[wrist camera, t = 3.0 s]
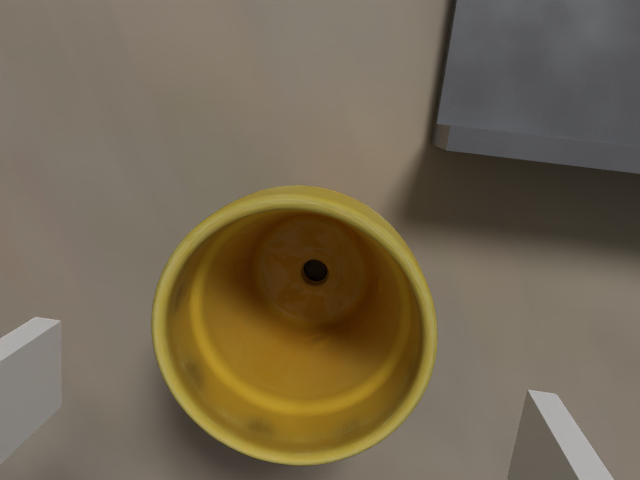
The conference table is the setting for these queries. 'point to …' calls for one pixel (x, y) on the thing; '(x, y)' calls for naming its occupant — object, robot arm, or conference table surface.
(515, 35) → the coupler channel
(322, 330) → the plant pot
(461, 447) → the conference table surface
